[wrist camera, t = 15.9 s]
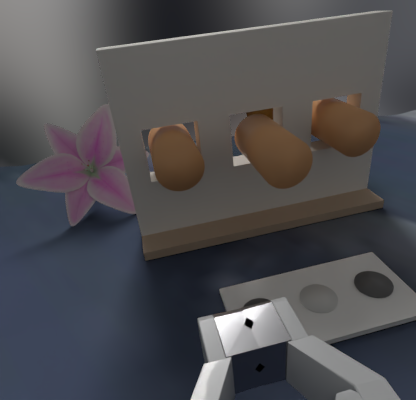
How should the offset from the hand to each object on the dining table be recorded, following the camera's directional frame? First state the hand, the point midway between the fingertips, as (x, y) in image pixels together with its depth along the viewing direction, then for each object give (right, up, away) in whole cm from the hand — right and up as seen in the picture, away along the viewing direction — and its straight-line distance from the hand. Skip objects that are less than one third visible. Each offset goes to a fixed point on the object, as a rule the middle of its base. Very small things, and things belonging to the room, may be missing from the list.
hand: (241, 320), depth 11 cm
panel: (+4, +3, +22) cm, 22 cm away
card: (+6, -3, +11) cm, 13 cm away
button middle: (+4, +6, +15) cm, 17 cm away
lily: (-13, +3, +27) cm, 30 cm away
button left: (-4, +6, +17) cm, 18 cm away
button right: (+10, +9, +19) cm, 23 cm away
